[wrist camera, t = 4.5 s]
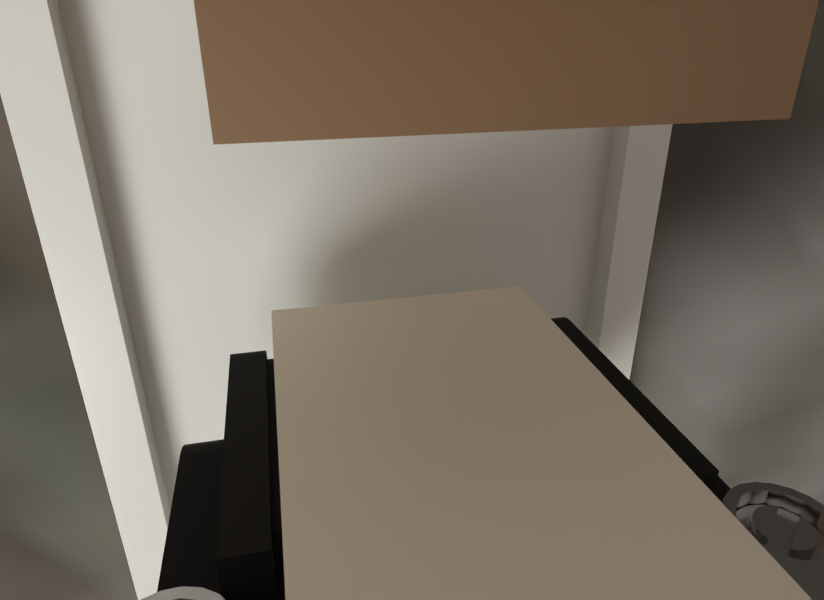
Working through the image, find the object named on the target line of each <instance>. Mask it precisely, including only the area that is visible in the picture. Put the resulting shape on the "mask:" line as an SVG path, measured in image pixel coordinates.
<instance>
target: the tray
mask: <svg viewBox="0 0 824 600" xmlns="http://www.w3.org/2000/svg"><path fill="white" fill-rule="evenodd" d="M0 94H1V98H2V101H3V105H4V109H5V112H6V116H7V120H8V123H9V127H10V131H11V134H12V138H13V142H14V145H15V149H16V153H17V156H18V160H19V164H20V167H21V171H22V175H23V178H24V182H25V186H26V189H27V193H28V197H29V200H30V204H31V208H32V211H33V215H34V219H35V223H36V226H37V230H38V234H39V237H40V241H41V245H42V248H43V252H44V256H45V259H46V263H47V267H48V270H49V274H50V278H51V281H52V285H53V289H54V292H55V296H56V300H57V303H58V307H59V311H60V314H61V318H62V322H63V325H64V329H65V333H66V336H67V340H68V344H69V347H70V351H71V355H72V358H73V362H74V366H75V369H76V373H77V377H78V380H79V384H80V388H81V391H82V395H83V399H84V402H85V406H86V410H87V413H88V417H89V421H90V424H91V428H92V432H93V435H94V439H95V443H96V446H97V450H98V454H99V458H100V461H101V465H102V469H103V472H104V476H105V480H106V483H107V487H108V491H109V494H110V498H111V502H112V505H113V509H114V513H115V516H116V520H117V524H118V527H119V531H120V535H121V538H122V542H123V546H124V549H125V553H126V557H127V560H128V564H129V568H130V571H131V575H132V579H133V582H134V586H135V590H136V593H137V597H138V600H141V599H143V598H145V597H148V596H150V595H152V594H154V593H157V589H158V583H159V577H160V571H161V565H162V559H163V553H164V547H165V541H166V535H167V529H168V523H169V517H170V511H171V505H172V499H173V493H174V487H175V481H176V475H177V469H178V463H179V458H180V453H181V449H182V447H183V446H184V445H186V444H193V443H200V442H208V441H215V440H222V439H224V431H225V417H226V404H227V390H228V376H229V363H230V355H231V354H237V353H246V352H255V351H264V350H266V352H267V359H274V355H273V335H272V314H271V311H272V310H282V309H292V308H302V307H312V306H322V305H333V304H343V303H353V302H363V301H373V300H383V299H393V298H404V297H414V296H424V295H434V294H444V293H454V292H464V291H475V290H485V289H495V288H505V287H515V286H520V287H521V288H522V289H523V290H524V291H525V292H526V293H527V294H528V295H529V296H530V297H531V298H532V300H533V301H534V302H535V303H536V304H537V305H538V306H539V307H540V308H541V309H542V310H543V311H544V312H545V313H546V315H547V316H548V317H549V318H550V319H551V318H560V317H566V318H568V319H569V320H570V321H571V322H572V323H573V324H574V325H575V326H576V327H577V328H578V329H579V330H580V331H581V332H582V333H583V334H584V335H585V336H586V337H587V338H588V339H589V340H590V341H591V342H592V343H593V344H594V345H595V346H596V347H597V348H598V349H599V350H600V351H601V352H602V353H603V354H604V355H605V356H606V357H607V358H608V359H609V360H610V361H611V362H612V363H613V364H614V365H615V366H616V367H617V368H618V369H619V370H620V371H621V372H622V373H623V374H624V375H625V376H626V377H627V378H628V379H630V374H631V368H632V362H633V356H634V350H635V344H636V338H637V332H638V326H639V320H640V314H641V308H642V303H643V297H644V291H645V285H646V279H647V273H648V267H649V261H650V255H651V249H652V243H653V237H654V231H655V226H656V220H657V214H658V208H659V202H660V196H661V190H662V184H663V178H664V172H665V166H666V160H667V155H668V149H669V143H670V137H671V131H672V125H673V124H662V125H640V126H617V127H595V128H573V129H550V130H528V131H505V132H483V133H461V134H438V135H416V136H394V137H371V138H349V139H326V140H304V141H282V142H259V143H237V144H214V145H213V138H212V130H211V123H210V116H209V109H208V101H207V94H206V87H205V80H204V73H203V65H202V58H201V51H200V44H199V36H198V29H197V22H196V15H195V7H194V0H0Z"/></svg>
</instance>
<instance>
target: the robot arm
mask: <svg viewBox="0 0 824 600" xmlns="http://www.w3.org/2000/svg"><path fill="white" fill-rule="evenodd" d="M551 320H552V321H553V322H554V323H555V324H556V325H557V326H558V327H559V328H560V330H561V331H562V332H563V333H564V334H565V335H566V336H567V337H568V338H569V339H570V340H571V341H572V342H573V344H574V345H575V346H576V347H577V348H578V349H579V350H580V351H581V352H582V353H583V354H584V355H585V356H586V357H587V359H588V360H589V361H590V362H591V363H592V364H593V365H594V366H595V367H596V368H597V369H598V370H599V371H600V372H601V374H602V375H603V376H604V377H605V378H606V379H607V380H608V381H609V382H610V383H611V384H612V385H613V386H614V387H615V389H616V390H617V391H618V392H619V393H620V394H621V395H622V396H623V397H624V398H625V399H626V400H627V401H628V403H629V404H630V405H631V406H632V407H633V408H634V409H635V410H636V411H637V412H638V413H639V414H640V415H641V416H642V418H643V419H644V420H645V421H646V422H647V423H648V424H649V425H650V426H651V427H652V428H653V429H654V430H655V431H656V433H657V434H658V435H659V436H660V437H661V438H662V439H663V440H664V441H665V442H666V443H667V444H668V445H669V446H670V448H671V449H672V450H673V451H674V452H675V453H676V454H677V455H678V456H679V457H680V458H681V459H682V460H683V462H684V463H685V464H686V465H687V466H688V467H689V468H690V469H691V470H692V471H693V472H694V473H695V474H696V475H697V477H698V478H699V479H700V480H701V481H702V482H703V483H704V484H705V485H706V486H707V487H708V488H709V489H710V490H711V492H712V493H713V494H714V495H715V496H716V497H717V498H718V499H719V500H720V501H721V502H722V503H723V504H724V506H725V507H726V508H727V509H728V510H729V511H730V512H731V513H732V514H733V515H734V516H735V517H736V518H737V519H738V521H739V522H740V523H741V524H742V525H743V526H744V527H745V528H746V529H747V530H748V531H749V532H750V533H751V534H752V536H753V537H754V538H755V539H756V540H757V541H758V542H759V543H760V544H761V545H762V546H763V547H764V548H765V549H766V551H767V552H768V553H769V554H770V555H771V556H772V557H773V558H774V559H775V560H776V561H777V562H778V563H779V565H780V566H781V567H782V568H783V569H784V570H785V571H786V572H787V573H788V574H789V575H790V576H791V577H792V578H793V580H794V581H795V582H796V583H797V584H798V585H799V586H800V587H801V588H802V589H803V590H804V591H805V592H806V593H807V595H808V596H809V597H810V598H811V599H812V600H824V505H822V504H821V503H819V502H818V501H816V500H815V499H813V498H811V497H810V496H807V495H805V494H803V493H800V492H798V491H796V490H794V489H791V488H788V487H784V486H780V485H776V484H772V483H761V482H751V483H744V484H739V485H737V486H735V487H733V488H732V489H730V488H729V487H728V486H727V485H726V484H725V483H724V482H723V480H722V479H721V478H720V477H719V476H718V472H719V470H718V469H717V468H716V467H715V466H714V465H713V464H712V463H711V462H710V461H709V460H708V459H707V458H706V457H705V456H704V455H703V454H702V453H701V452H700V451H699V450H698V449H697V448H696V447H695V446H694V445H693V444H692V443H691V442H690V441H689V440H688V439H687V438H686V437H685V436H684V435H683V434H682V433H681V432H680V431H679V430H678V429H677V428H676V427H675V426H674V425H673V424H672V423H671V422H670V421H669V420H668V419H667V418H666V417H665V416H664V415H663V414H662V413H661V412H660V411H659V410H658V409H657V408H656V407H655V406H654V405H653V404H652V403H651V402H650V401H649V400H648V399H647V398H646V397H645V396H644V395H643V394H642V393H641V392H640V390H639V389H638V388H637V387H636V386H635V385H634V384H633V383H632V382H631V381H630V380H629V379H628V378H627V377H626V376H625V375H624V374H623V373H622V372H621V371H620V370H619V369H618V368H617V367H616V366H615V365H614V364H613V363H612V362H611V361H610V360H609V359H608V358H607V357H606V356H605V355H604V354H603V353H602V352H601V351H600V350H599V349H598V348H597V347H596V346H595V345H594V344H593V343H592V342H591V341H590V340H589V339H588V338H587V337H586V336H585V335H584V334H583V333H582V332H581V331H580V330H579V329H578V328H577V327H576V326H575V325H574V324H573V323H572V322H571V321H570V320H569V319H568V318H566V317H560V318H551ZM141 600H285V581H284V560H283V540H282V519H281V499H280V478H279V458H278V437H277V417H276V396H275V376H274V359H267V352H266V350H264V351H255V352H246V353H237V354H231V355H230V363H229V376H228V390H227V404H226V417H225V431H224V439H222V440H215V441H208V442H200V443H193V444H186V445H184V446H183V447H182V449H181V453H180V458H179V463H178V469H177V475H176V481H175V487H174V493H173V499H172V505H171V511H170V517H169V523H168V529H167V535H166V541H165V547H164V553H163V559H162V565H161V571H160V577H159V583H158V589H157V593H154V594H152V595H150V596H148V597H145V598H143V599H141Z"/></svg>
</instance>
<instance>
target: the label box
mask: <svg viewBox="0 0 824 600" xmlns="http://www.w3.org/2000/svg"><path fill="white" fill-rule="evenodd" d="M271 314H272V335H273V355H274V376H275V396H276V417H277V437H278V458H279V478H280V499H281V519H282V540H283V560H284V581H285V600H812V599H811V598H810V597H809V596H808V595H807V593H806V592H805V591H804V590H803V589H802V588H801V587H800V586H799V585H798V584H797V583H796V582H795V581H794V580H793V578H792V577H791V576H790V575H789V574H788V573H787V572H786V571H785V570H784V569H783V568H782V567H781V566H780V565H779V563H778V562H777V561H776V560H775V559H774V558H773V557H772V556H771V555H770V554H769V553H768V552H767V551H766V549H765V548H764V547H763V546H762V545H761V544H760V543H759V542H758V541H757V540H756V539H755V538H754V537H753V536H752V534H751V533H750V532H749V531H748V530H747V529H746V528H745V527H744V526H743V525H742V524H741V523H740V522H739V521H738V519H737V518H736V517H735V516H734V515H733V514H732V513H731V512H730V511H729V510H728V509H727V508H726V507H725V506H724V504H723V503H722V502H721V501H720V500H719V499H718V498H717V497H716V496H715V495H714V494H713V493H712V492H711V490H710V489H709V488H708V487H707V486H706V485H705V484H704V483H703V482H702V481H701V480H700V479H699V478H698V477H697V475H696V474H695V473H694V472H693V471H692V470H691V469H690V468H689V467H688V466H687V465H686V464H685V463H684V462H683V460H682V459H681V458H680V457H679V456H678V455H677V454H676V453H675V452H674V451H673V450H672V449H671V448H670V446H669V445H668V444H667V443H666V442H665V441H664V440H663V439H662V438H661V437H660V436H659V435H658V434H657V433H656V431H655V430H654V429H653V428H652V427H651V426H650V425H649V424H648V423H647V422H646V421H645V420H644V419H643V418H642V416H641V415H640V414H639V413H638V412H637V411H636V410H635V409H634V408H633V407H632V406H631V405H630V404H629V403H628V401H627V400H626V399H625V398H624V397H623V396H622V395H621V394H620V393H619V392H618V391H617V390H616V389H615V387H614V386H613V385H612V384H611V383H610V382H609V381H608V380H607V379H606V378H605V377H604V376H603V375H602V374H601V372H600V371H599V370H598V369H597V368H596V367H595V366H594V365H593V364H592V363H591V362H590V361H589V360H588V359H587V357H586V356H585V355H584V354H583V353H582V352H581V351H580V350H579V349H578V348H577V347H576V346H575V345H574V344H573V342H572V341H571V340H570V339H569V338H568V337H567V336H566V335H565V334H564V333H563V332H562V331H561V330H560V328H559V327H558V326H557V325H556V324H555V323H554V322H553V321H552V320H551V319H550V318H549V317H548V316H547V315H546V313H545V312H544V311H543V310H542V309H541V308H540V307H539V306H538V305H537V304H536V303H535V302H534V301H533V300H532V298H531V297H530V296H529V295H528V294H527V293H526V292H525V291H524V290H523V289H522V288H521V287H520V286H515V287H505V288H495V289H485V290H475V291H464V292H454V293H444V294H434V295H424V296H414V297H404V298H393V299H383V300H373V301H363V302H353V303H343V304H333V305H322V306H312V307H302V308H292V309H282V310H272V311H271Z"/></svg>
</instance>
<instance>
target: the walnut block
mask: <svg viewBox="0 0 824 600" xmlns="http://www.w3.org/2000/svg"><path fill="white" fill-rule="evenodd" d="M818 4H819V0H194V7H195V15H196V22H197V29H198V36H199V44H200V51H201V58H202V65H203V73H204V80H205V87H206V94H207V101H208V109H209V116H210V123H211V130H212V138H213V145H214V144H237V143H259V142H282V141H304V140H326V139H349V138H371V137H394V136H416V135H438V134H461V133H483V132H505V131H528V130H550V129H573V128H595V127H617V126H640V125H662V124H685V123H707V122H729V121H752V120H774V119H790V118H791V114H792V110H793V106H794V102H795V98H796V93H797V89H798V85H799V81H800V77H801V73H802V69H803V65H804V61H805V57H806V53H807V49H808V45H809V41H810V37H811V33H812V28H813V24H814V20H815V16H816V12H817V8H818Z"/></svg>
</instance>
